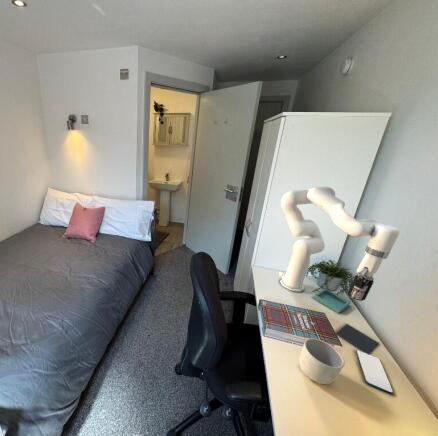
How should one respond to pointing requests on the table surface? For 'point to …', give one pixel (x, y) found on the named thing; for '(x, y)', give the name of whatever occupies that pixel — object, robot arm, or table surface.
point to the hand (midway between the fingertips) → (361, 284)
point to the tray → (332, 300)
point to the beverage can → (360, 293)
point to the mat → (357, 338)
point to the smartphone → (373, 371)
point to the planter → (320, 361)
